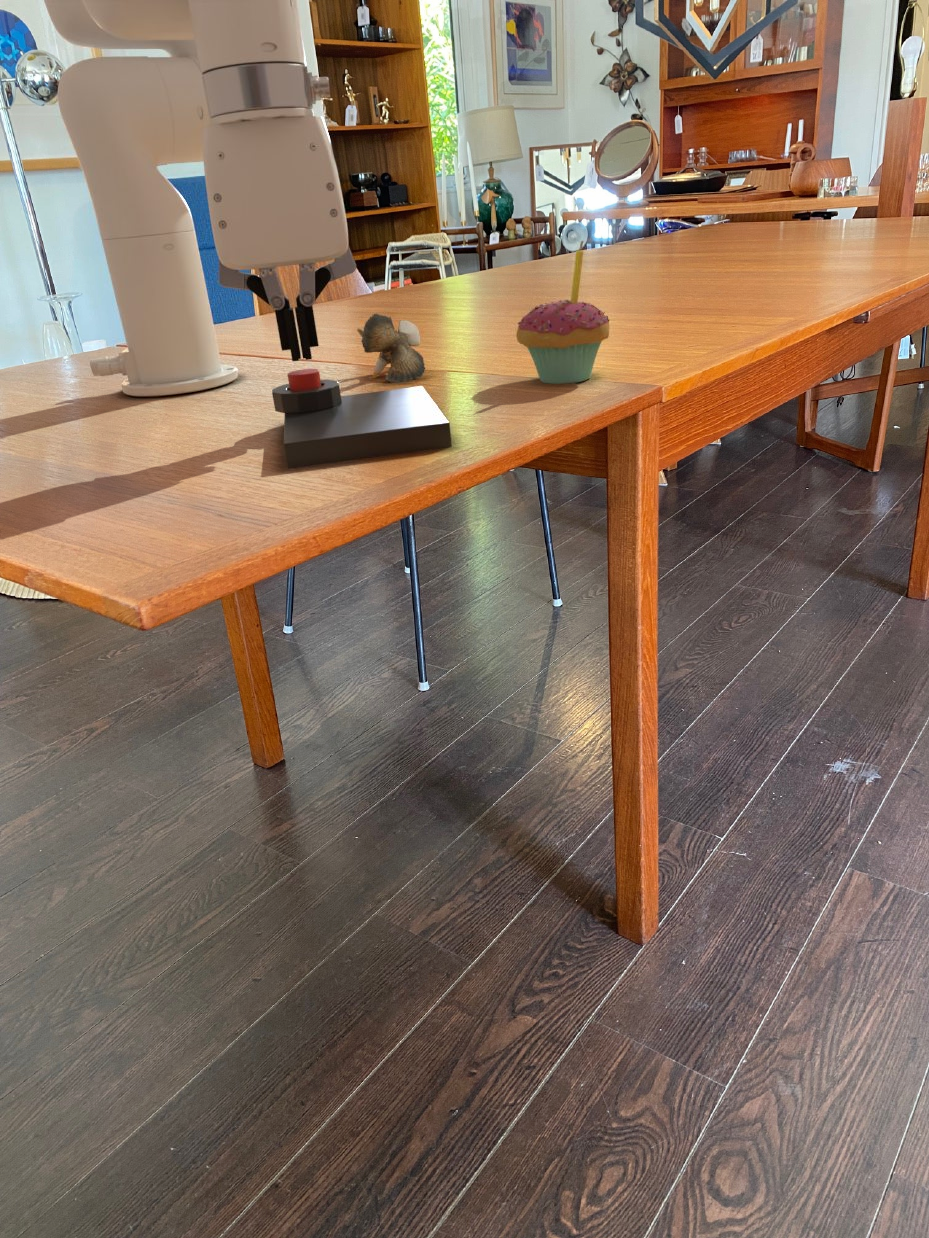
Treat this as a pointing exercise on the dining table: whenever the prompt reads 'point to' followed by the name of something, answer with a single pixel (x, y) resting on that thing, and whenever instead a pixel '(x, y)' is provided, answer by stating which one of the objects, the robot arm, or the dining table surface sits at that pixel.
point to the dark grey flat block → (357, 424)
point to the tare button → (304, 379)
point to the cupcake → (564, 335)
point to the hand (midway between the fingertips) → (302, 357)
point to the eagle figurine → (393, 348)
